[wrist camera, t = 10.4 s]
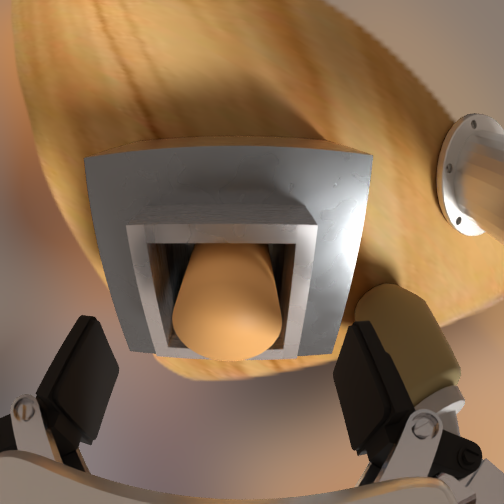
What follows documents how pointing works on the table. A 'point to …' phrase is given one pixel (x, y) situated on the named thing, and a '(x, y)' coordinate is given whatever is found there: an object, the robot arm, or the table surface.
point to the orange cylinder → (228, 301)
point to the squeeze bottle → (415, 349)
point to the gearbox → (229, 228)
